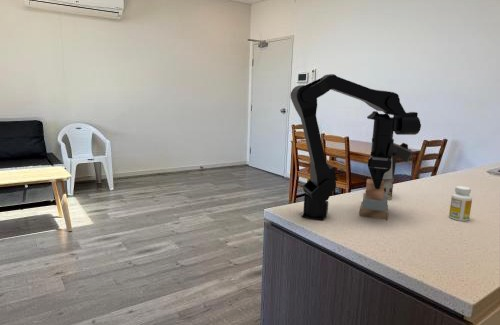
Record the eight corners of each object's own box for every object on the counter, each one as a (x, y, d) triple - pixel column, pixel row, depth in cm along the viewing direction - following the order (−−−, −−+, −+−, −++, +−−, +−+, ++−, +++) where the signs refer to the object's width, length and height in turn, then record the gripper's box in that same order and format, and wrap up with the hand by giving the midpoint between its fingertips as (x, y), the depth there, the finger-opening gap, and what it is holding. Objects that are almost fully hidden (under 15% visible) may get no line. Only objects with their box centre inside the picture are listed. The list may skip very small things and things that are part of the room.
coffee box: (392, 200, 125) (397, 155, 122) (373, 198, 127) (377, 154, 123) (387, 193, 134) (392, 151, 131) (370, 191, 135) (373, 150, 132)
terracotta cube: (365, 198, 108) (366, 182, 107) (365, 194, 113) (367, 178, 112) (382, 200, 107) (384, 184, 106) (382, 195, 111) (384, 180, 110)
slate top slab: (362, 208, 108) (363, 199, 107) (362, 202, 115) (363, 193, 114) (386, 211, 106) (387, 201, 105) (385, 204, 112) (386, 195, 112)
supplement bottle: (466, 216, 110) (471, 186, 108) (471, 222, 105) (475, 190, 103) (447, 214, 112) (451, 184, 110) (450, 219, 107) (455, 188, 105)
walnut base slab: (359, 218, 108) (359, 208, 108) (360, 210, 116) (361, 201, 115) (386, 222, 106) (387, 212, 105) (387, 213, 113) (387, 204, 112)
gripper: (414, 140, 94) (407, 196, 98) (410, 133, 111) (405, 181, 115) (370, 137, 98) (365, 191, 102) (373, 131, 115) (369, 177, 119)
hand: (378, 185), depth 109 cm, fingers open, 9 cm apart
